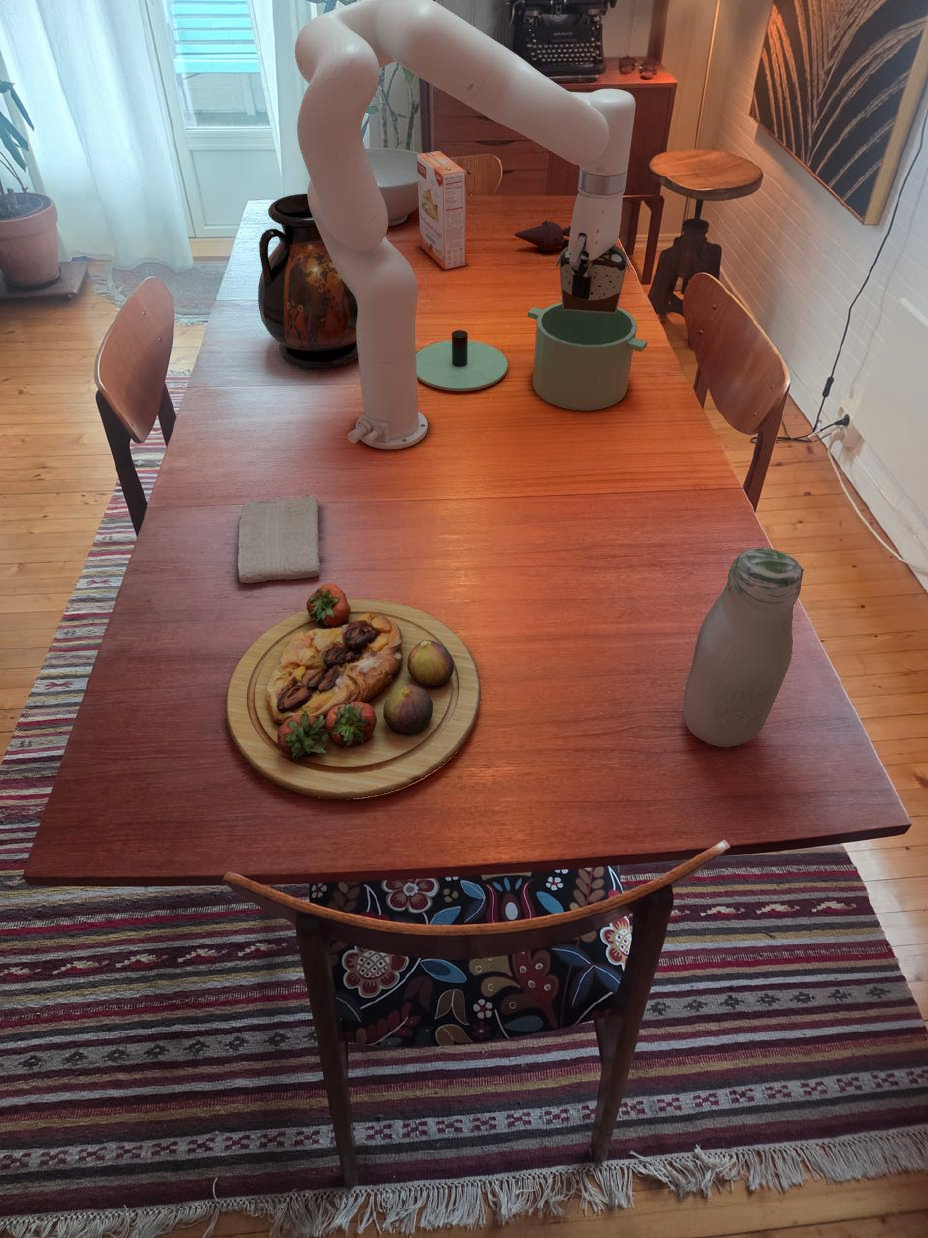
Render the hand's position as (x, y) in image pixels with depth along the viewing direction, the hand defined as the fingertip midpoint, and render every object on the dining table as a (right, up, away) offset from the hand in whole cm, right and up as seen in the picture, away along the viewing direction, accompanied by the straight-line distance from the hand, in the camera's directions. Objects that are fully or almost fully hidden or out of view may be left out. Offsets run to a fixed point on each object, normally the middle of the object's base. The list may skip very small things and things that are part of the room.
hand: (590, 288), depth 152 cm
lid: (-23, -8, +17) cm, 30 cm away
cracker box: (-27, +27, +53) cm, 66 cm away
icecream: (-2, +30, +56) cm, 64 cm away
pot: (0, -13, +13) cm, 19 cm away
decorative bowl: (-42, +44, +70) cm, 93 cm away
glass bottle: (+9, -71, -43) cm, 84 cm away
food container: (+1, -1, +3) cm, 4 cm away
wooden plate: (-36, -67, -40) cm, 86 cm away
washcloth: (-49, -46, -19) cm, 70 cm away
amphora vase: (-50, -5, +22) cm, 55 cm away
